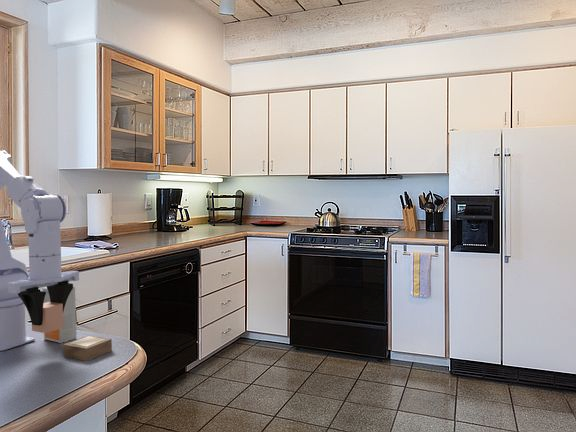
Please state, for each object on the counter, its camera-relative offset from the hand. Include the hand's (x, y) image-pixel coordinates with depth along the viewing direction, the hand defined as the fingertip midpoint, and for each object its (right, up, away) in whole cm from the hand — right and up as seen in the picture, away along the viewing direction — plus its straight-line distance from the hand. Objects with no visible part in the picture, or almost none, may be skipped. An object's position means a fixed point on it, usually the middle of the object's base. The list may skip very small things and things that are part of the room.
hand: (47, 321), depth 93 cm
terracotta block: (0, -2, 0) cm, 2 cm away
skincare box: (-3, -7, +12) cm, 14 cm away
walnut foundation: (+7, -7, +2) cm, 10 cm away
